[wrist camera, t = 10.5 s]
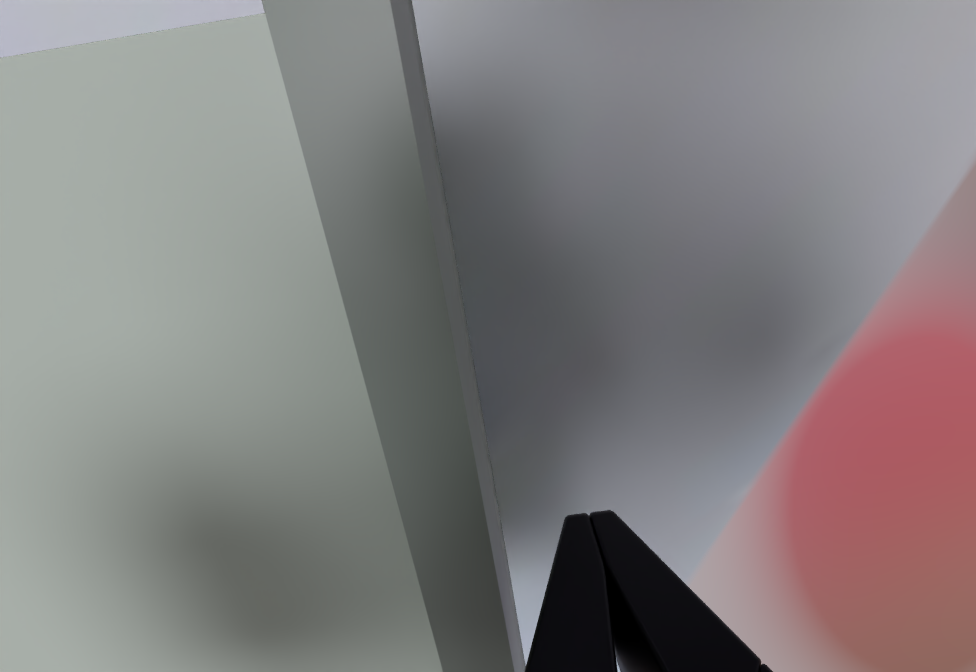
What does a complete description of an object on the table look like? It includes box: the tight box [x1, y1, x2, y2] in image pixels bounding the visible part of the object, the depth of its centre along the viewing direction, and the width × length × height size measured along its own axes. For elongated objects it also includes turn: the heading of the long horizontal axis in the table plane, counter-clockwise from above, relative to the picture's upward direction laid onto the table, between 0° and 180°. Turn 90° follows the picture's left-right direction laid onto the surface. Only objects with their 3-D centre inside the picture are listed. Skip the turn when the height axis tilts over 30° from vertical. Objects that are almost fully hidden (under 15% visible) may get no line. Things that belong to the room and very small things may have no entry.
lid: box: [0, 0, 526, 672], centre depth 9 cm, size 13×17×2 cm
